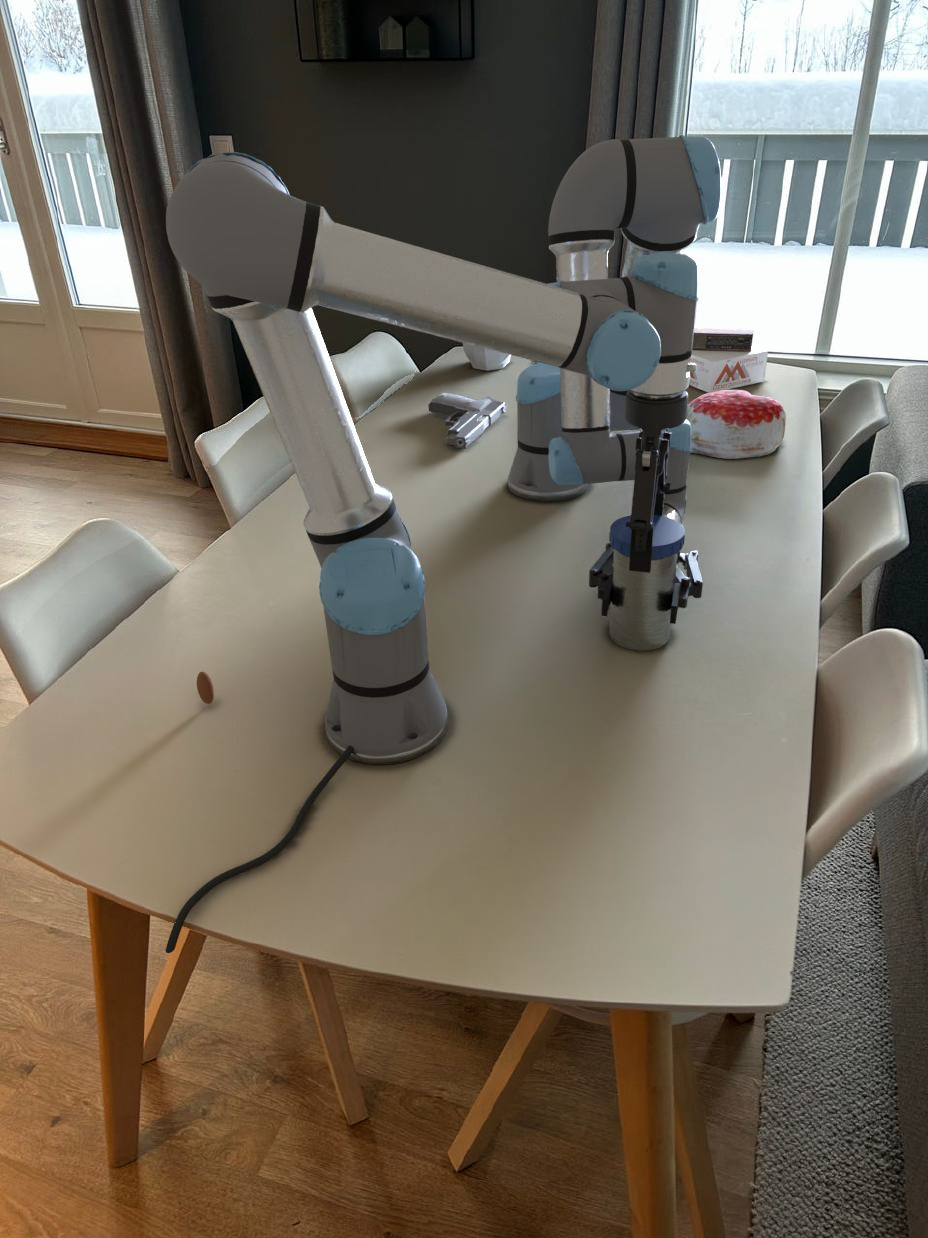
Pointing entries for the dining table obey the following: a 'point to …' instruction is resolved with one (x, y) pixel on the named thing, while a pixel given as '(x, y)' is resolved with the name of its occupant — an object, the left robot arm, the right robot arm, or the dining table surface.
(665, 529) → the lid
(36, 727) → the dining table surface
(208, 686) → the brown oval piece
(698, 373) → the white cardboard box
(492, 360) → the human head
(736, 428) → the cake
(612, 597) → the jar
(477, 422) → the pistol
